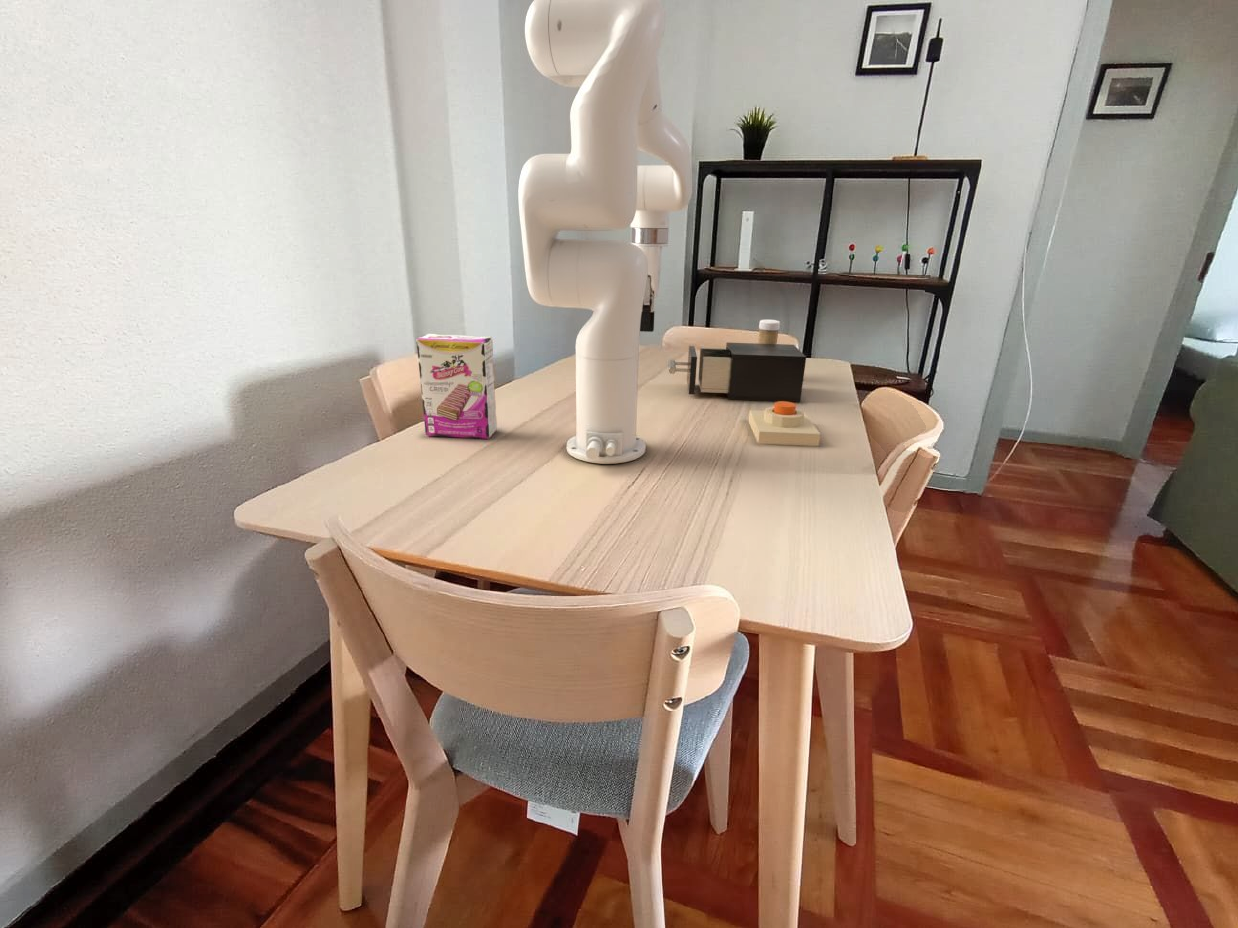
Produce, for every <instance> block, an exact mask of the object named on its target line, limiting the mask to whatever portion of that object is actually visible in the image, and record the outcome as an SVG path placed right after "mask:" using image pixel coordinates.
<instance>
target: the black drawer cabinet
mask: <svg viewBox="0 0 1238 928" xmlns="http://www.w3.org/2000/svg"><path fill="white" fill-rule="evenodd" d="M725 349H728V350H729V352H730V354H731V356H732V363H731V374H730V385H729V393H725V394H726V397H727V400H728V401H734V402H735V401H737V402H760V403H761V402H762V403H764V402H765V403H775V402H779V401H787V402H792V403H794V404H800V403H801V398H802V391H803V385H804V377H805V371H806V370H805V369H806V363H807V356H806V355H805V354H804V353H803V352H802V351H801V350H800V349H799V348H798V347H797V346H796V345H795V344H790V343H789V344H787V343H786V344H784V343H777V344H758V342H756V343H755V342H754V343H753V342H726V344H725Z"/></svg>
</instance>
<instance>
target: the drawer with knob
mask: <svg viewBox="0 0 1238 928" xmlns="http://www.w3.org/2000/svg"><path fill="white" fill-rule="evenodd" d="M731 363H732V356H731V354H730V352H729V350H728V349H726V348H718V347H700V350H699V363H698V355H697V351H696V347H695V345H688V355H687V361H675V360H674V359H669V360H668V363H667V364H668V373H670V374H671V375H674V374H676V372H680V373H681V372H682V373H686V385H687V391H688V395H695V394H696V380H697V381H698V386H699V390H700V393H711V394H726V393H729V385H730V374H731ZM697 364H699V365H698V378H697ZM676 366H687V368H683V367H682V368H681V367H676Z"/></svg>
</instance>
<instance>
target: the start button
mask: <svg viewBox="0 0 1238 928" xmlns="http://www.w3.org/2000/svg"><path fill="white" fill-rule="evenodd" d="M773 407H774V413H776V414H780V415H795V410H796V409H797V403H792V402H787V401H779V402H774V404H773Z"/></svg>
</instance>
